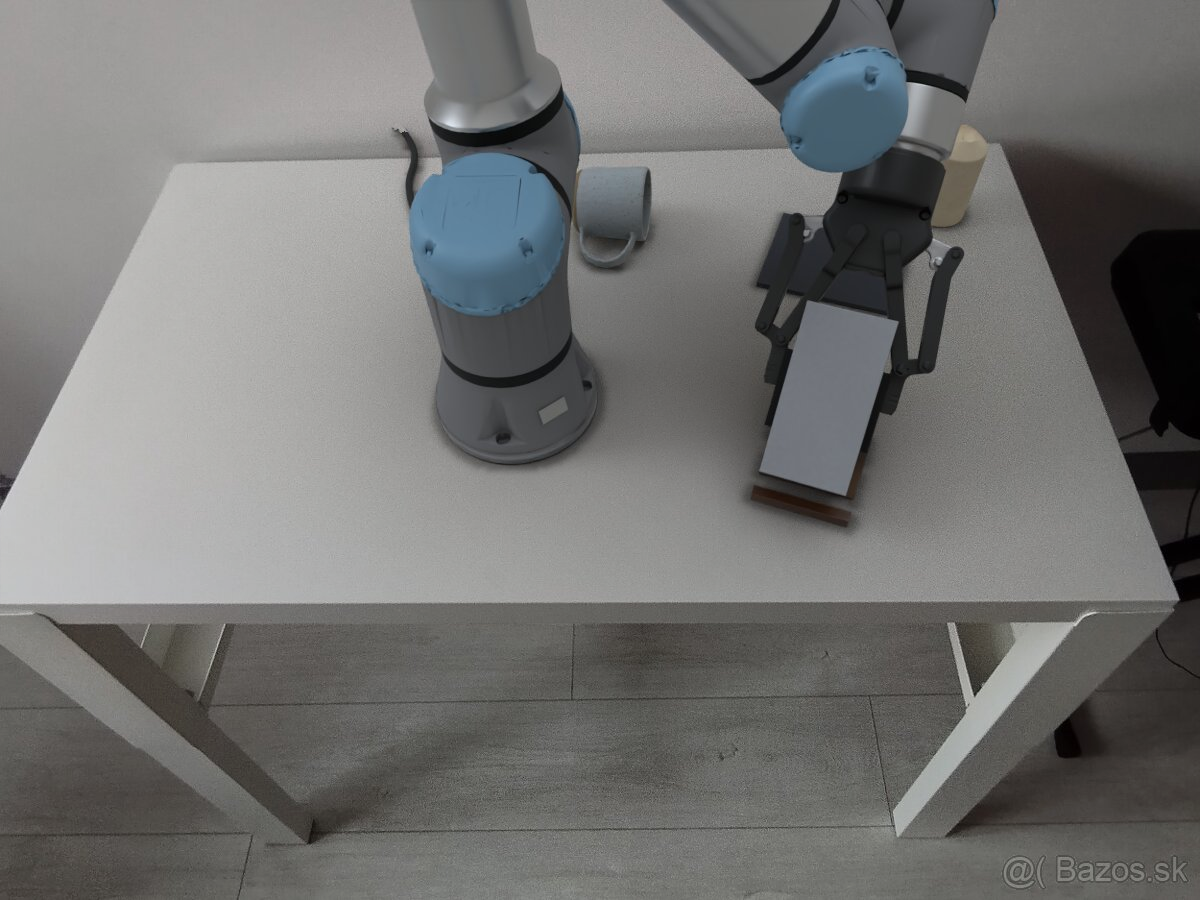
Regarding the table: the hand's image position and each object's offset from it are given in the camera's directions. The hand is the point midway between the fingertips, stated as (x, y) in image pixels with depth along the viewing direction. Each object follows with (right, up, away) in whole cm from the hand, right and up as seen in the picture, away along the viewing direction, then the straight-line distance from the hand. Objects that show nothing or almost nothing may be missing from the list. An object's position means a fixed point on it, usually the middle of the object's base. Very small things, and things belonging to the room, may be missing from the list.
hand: (815, 437), depth 70 cm
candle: (+20, +26, +25) cm, 41 cm away
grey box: (+1, -1, +5) cm, 5 cm away
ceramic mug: (-16, +23, +25) cm, 37 cm away
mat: (+7, +19, +21) cm, 29 cm away
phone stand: (+1, -3, +6) cm, 7 cm away
